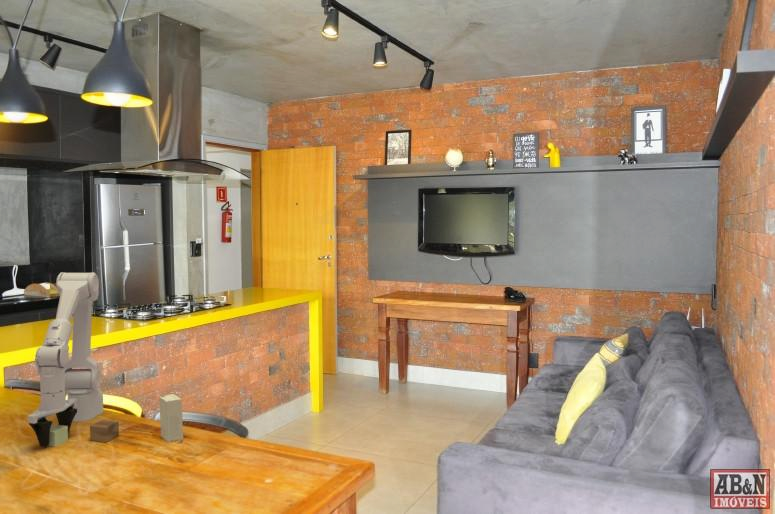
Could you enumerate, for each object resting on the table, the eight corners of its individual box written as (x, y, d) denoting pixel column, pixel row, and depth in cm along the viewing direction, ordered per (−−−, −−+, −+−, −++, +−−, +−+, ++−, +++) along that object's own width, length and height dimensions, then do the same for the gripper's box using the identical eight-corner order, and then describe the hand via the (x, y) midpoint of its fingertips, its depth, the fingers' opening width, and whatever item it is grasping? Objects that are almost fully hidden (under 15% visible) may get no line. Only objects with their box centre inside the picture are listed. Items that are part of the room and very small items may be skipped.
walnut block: (103, 433, 167) (102, 419, 167) (118, 435, 166) (118, 421, 166) (90, 440, 162) (89, 425, 162) (106, 442, 161) (106, 427, 161)
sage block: (54, 442, 164) (53, 424, 163) (68, 444, 163) (67, 426, 162) (40, 448, 159) (40, 430, 159) (55, 450, 158) (54, 432, 158)
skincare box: (184, 442, 165) (183, 398, 164) (167, 446, 162) (166, 401, 161) (175, 435, 170) (175, 393, 169) (159, 439, 167) (158, 396, 166)
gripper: (61, 381, 168) (62, 429, 169) (17, 397, 154) (19, 449, 155) (83, 383, 166) (84, 432, 167) (40, 399, 152) (42, 452, 153)
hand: (54, 440), depth 161 cm, fingers open, 6 cm apart
